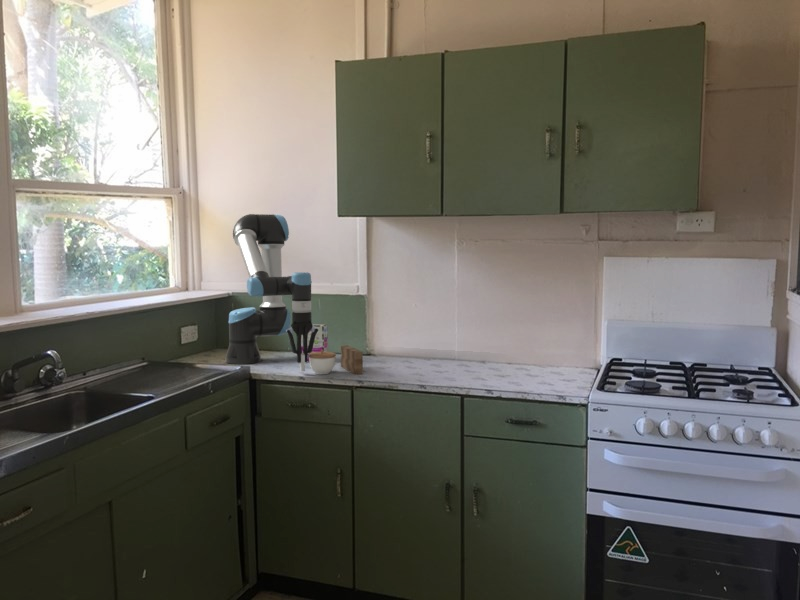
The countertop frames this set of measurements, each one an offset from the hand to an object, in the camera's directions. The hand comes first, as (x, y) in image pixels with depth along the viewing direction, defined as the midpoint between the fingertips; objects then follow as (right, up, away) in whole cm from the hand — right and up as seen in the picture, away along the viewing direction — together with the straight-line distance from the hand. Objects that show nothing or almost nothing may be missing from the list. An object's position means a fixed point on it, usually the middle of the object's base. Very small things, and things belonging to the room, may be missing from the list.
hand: (302, 370), depth 258 cm
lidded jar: (+8, -2, +4) cm, 8 cm away
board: (+19, -1, +9) cm, 21 cm away
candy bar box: (+1, +1, +30) cm, 30 cm away
